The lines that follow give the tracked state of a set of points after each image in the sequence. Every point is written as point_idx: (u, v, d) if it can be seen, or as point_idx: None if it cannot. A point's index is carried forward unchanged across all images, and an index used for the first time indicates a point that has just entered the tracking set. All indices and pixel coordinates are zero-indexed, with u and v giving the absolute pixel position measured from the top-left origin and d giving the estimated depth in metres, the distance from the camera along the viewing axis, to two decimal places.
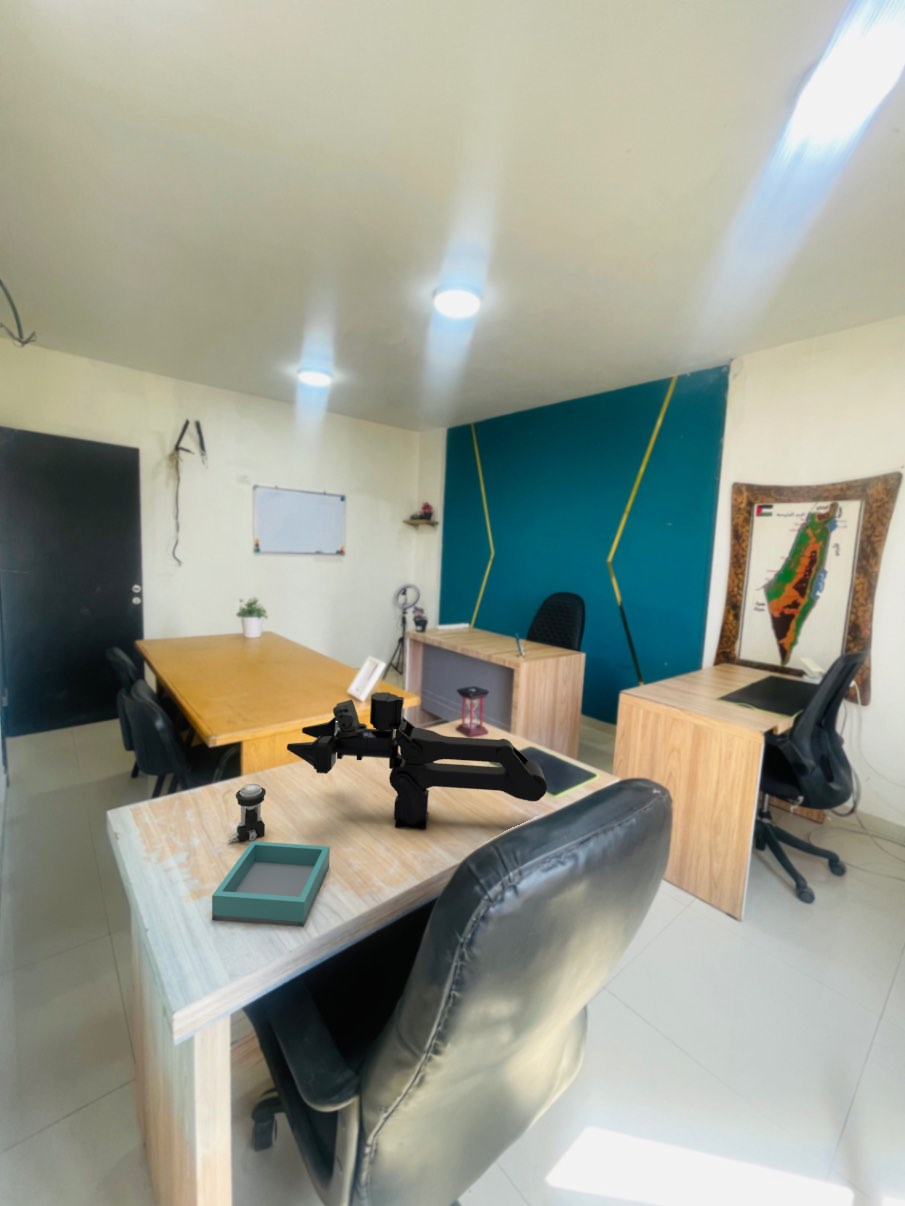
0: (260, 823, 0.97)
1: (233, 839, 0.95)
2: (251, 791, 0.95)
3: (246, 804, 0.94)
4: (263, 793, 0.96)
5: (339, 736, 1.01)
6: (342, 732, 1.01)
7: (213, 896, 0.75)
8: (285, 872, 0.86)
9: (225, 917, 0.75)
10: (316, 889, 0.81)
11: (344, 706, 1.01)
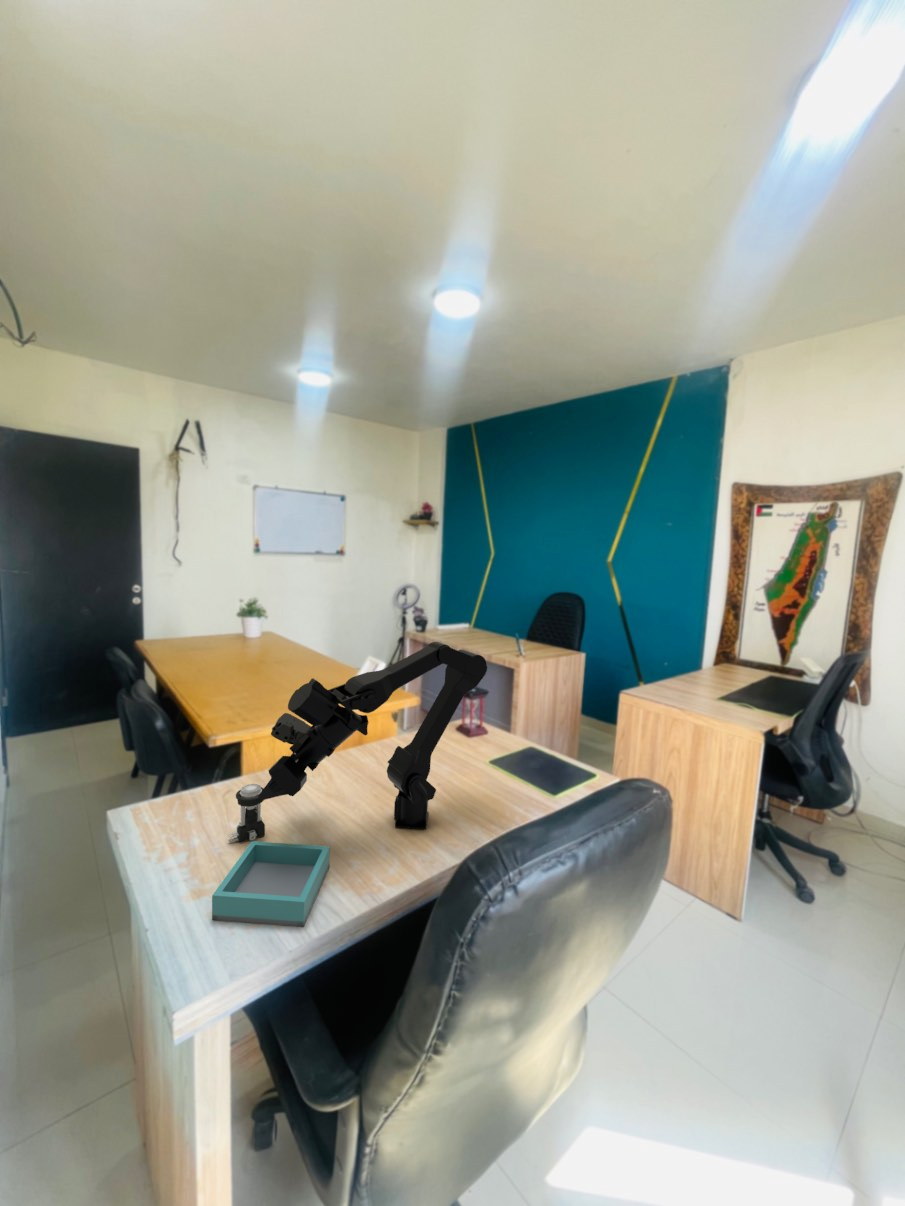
0: (260, 823, 0.97)
1: (233, 839, 0.95)
2: (251, 791, 0.95)
3: (246, 804, 0.94)
4: None
5: (295, 750, 0.91)
6: (294, 745, 0.91)
7: (213, 896, 0.75)
8: (285, 872, 0.86)
9: (225, 917, 0.75)
10: (316, 889, 0.81)
11: (276, 722, 0.92)
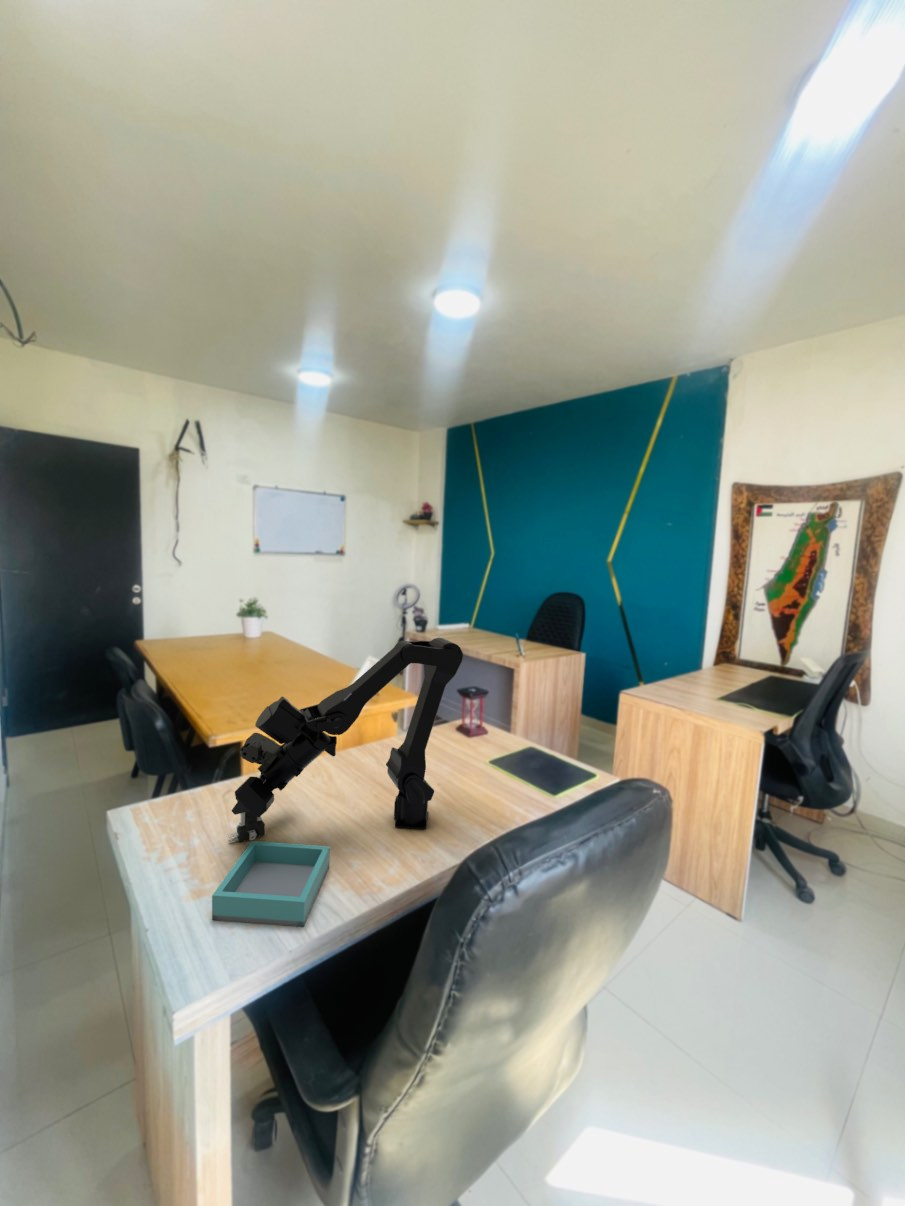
0: (260, 823, 0.97)
1: (233, 839, 0.95)
2: None
3: None
4: None
5: (263, 770, 0.92)
6: (262, 765, 0.92)
7: (213, 896, 0.75)
8: (285, 872, 0.86)
9: (225, 917, 0.75)
10: (316, 889, 0.81)
11: (245, 743, 0.92)
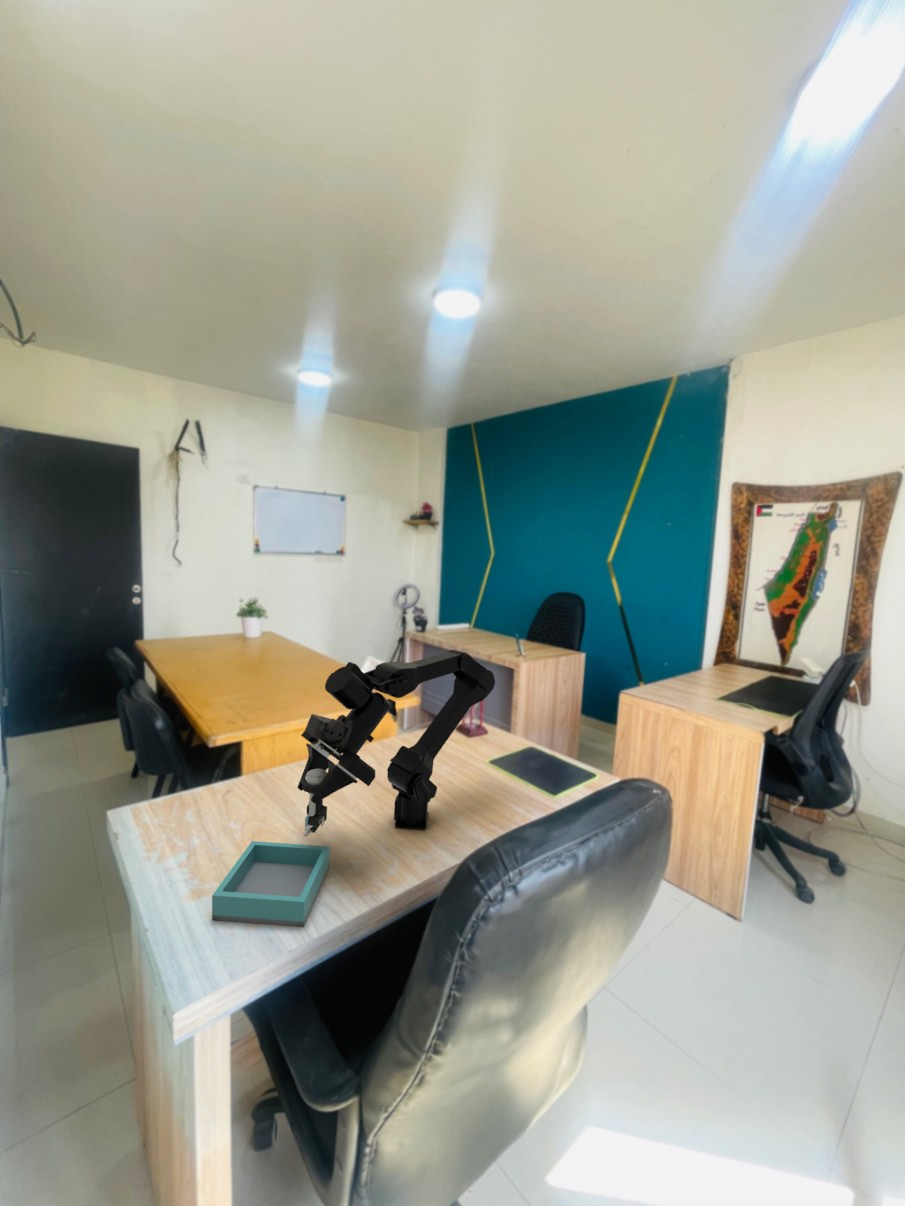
0: (323, 807, 0.91)
1: (308, 832, 0.87)
2: (322, 775, 0.88)
3: None
4: None
5: (342, 746, 0.88)
6: (341, 741, 0.88)
7: (213, 896, 0.75)
8: (285, 872, 0.86)
9: (225, 917, 0.75)
10: (316, 889, 0.81)
11: (320, 724, 0.86)
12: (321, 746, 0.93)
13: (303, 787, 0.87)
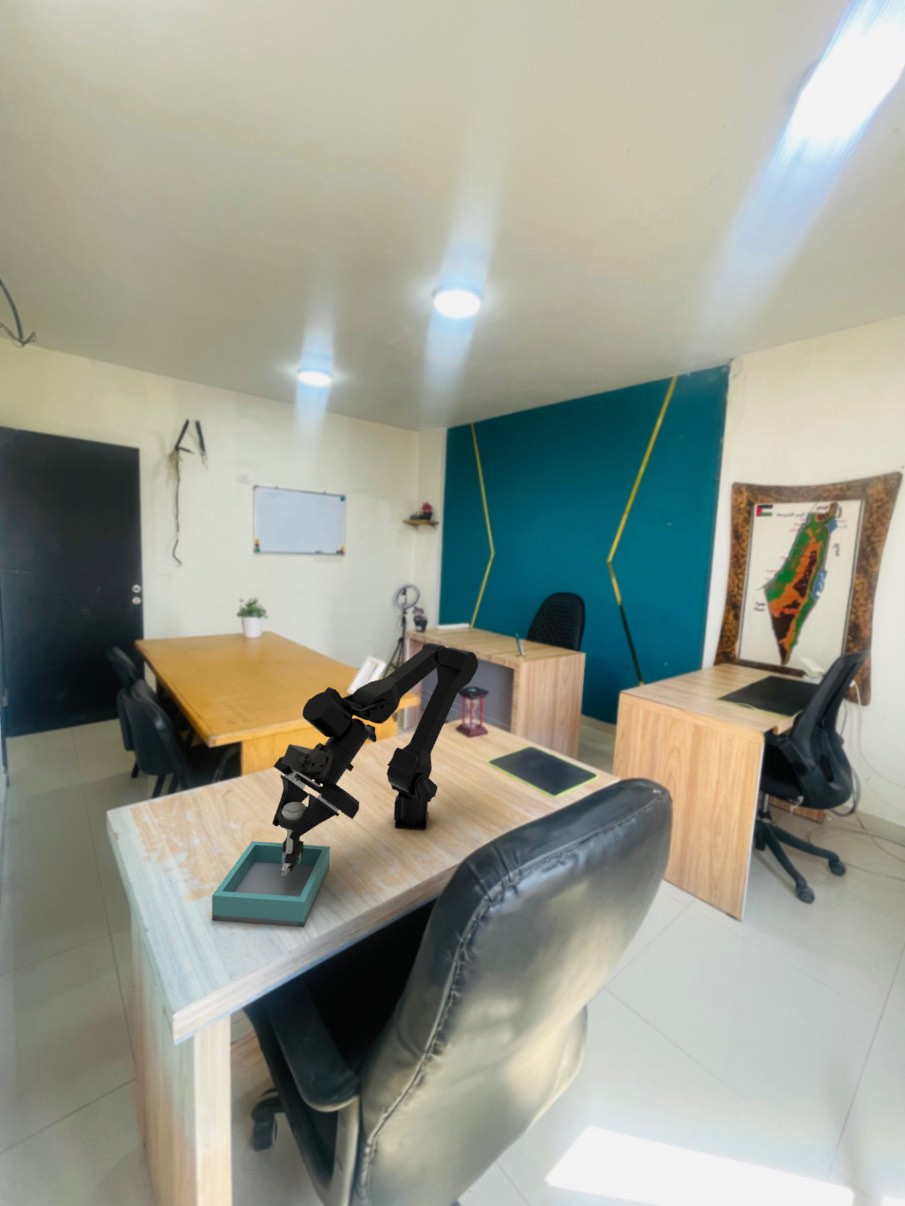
0: None
1: (285, 871, 0.81)
2: (301, 809, 0.83)
3: None
4: None
5: (323, 777, 0.83)
6: (322, 772, 0.83)
7: (213, 896, 0.75)
8: None
9: (225, 917, 0.75)
10: (316, 889, 0.81)
11: (300, 755, 0.81)
12: (297, 777, 0.87)
13: (280, 823, 0.82)
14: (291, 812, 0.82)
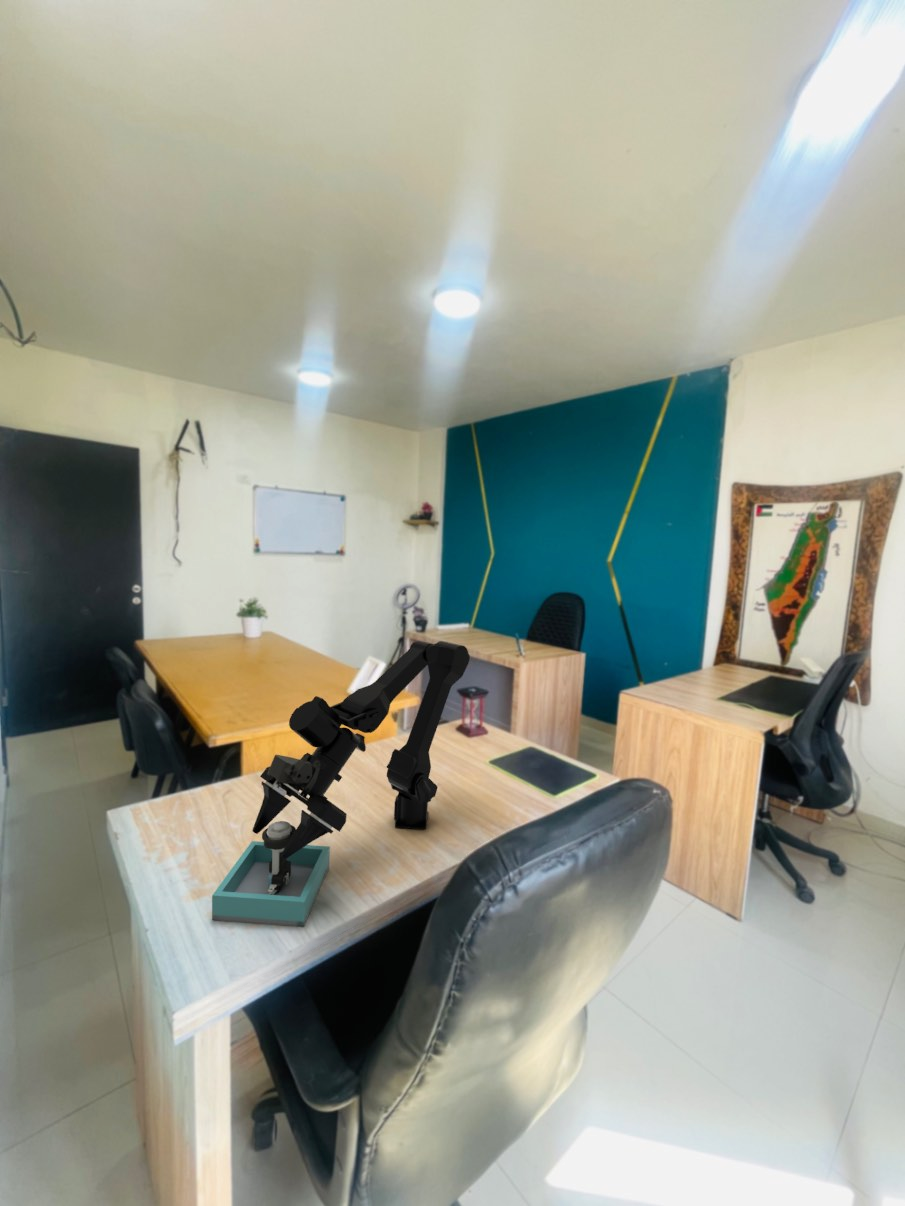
0: None
1: (272, 893, 0.80)
2: (286, 828, 0.82)
3: None
4: (292, 826, 0.84)
5: (310, 789, 0.82)
6: (308, 783, 0.81)
7: (213, 896, 0.75)
8: None
9: (225, 917, 0.75)
10: (316, 889, 0.81)
11: (286, 766, 0.79)
12: (278, 784, 0.87)
13: (265, 843, 0.80)
14: (275, 832, 0.80)
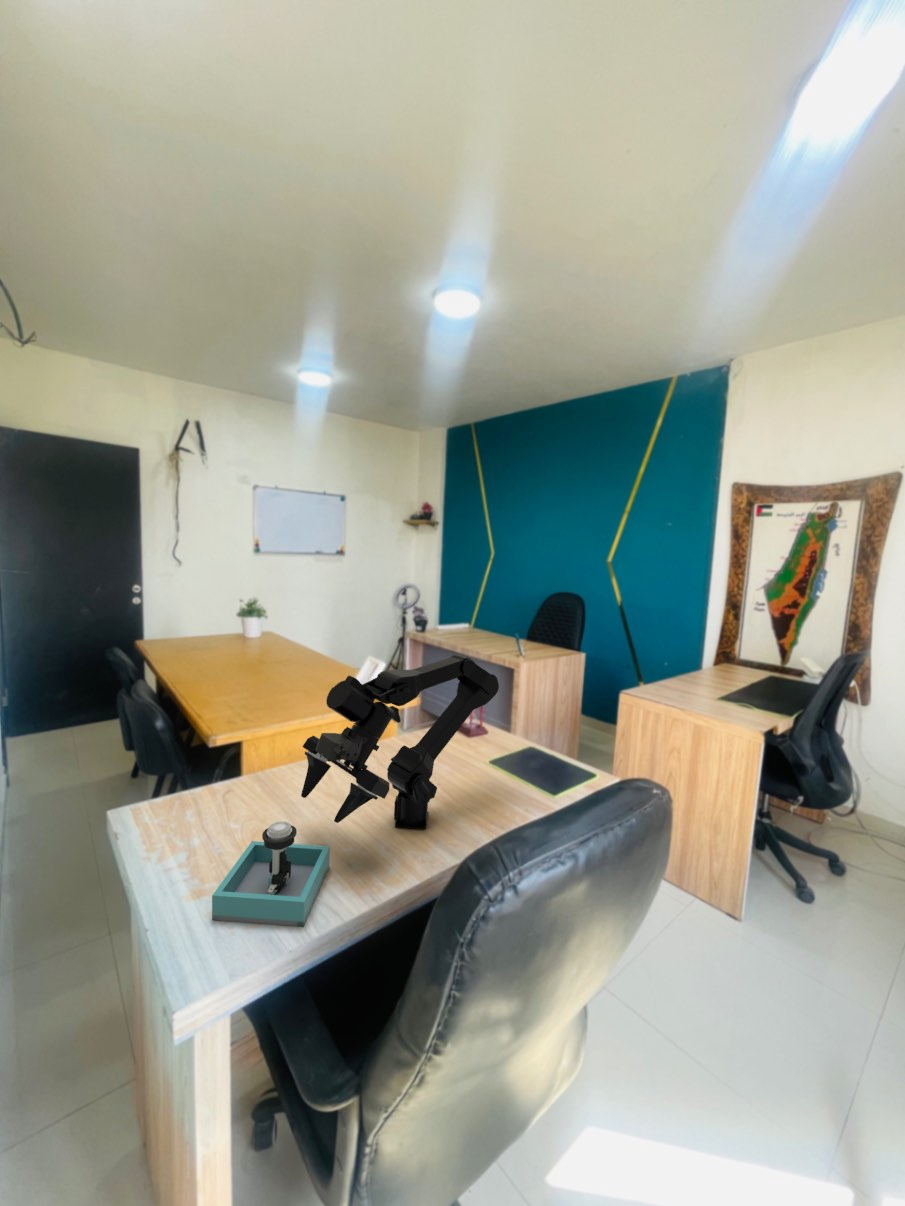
0: None
1: (272, 893, 0.80)
2: (286, 828, 0.82)
3: (288, 844, 0.81)
4: (292, 826, 0.84)
5: (354, 762, 0.90)
6: None
7: (213, 896, 0.75)
8: None
9: (225, 917, 0.75)
10: (316, 889, 0.81)
11: (335, 746, 0.86)
12: (320, 754, 0.94)
13: (265, 843, 0.80)
14: (276, 832, 0.80)
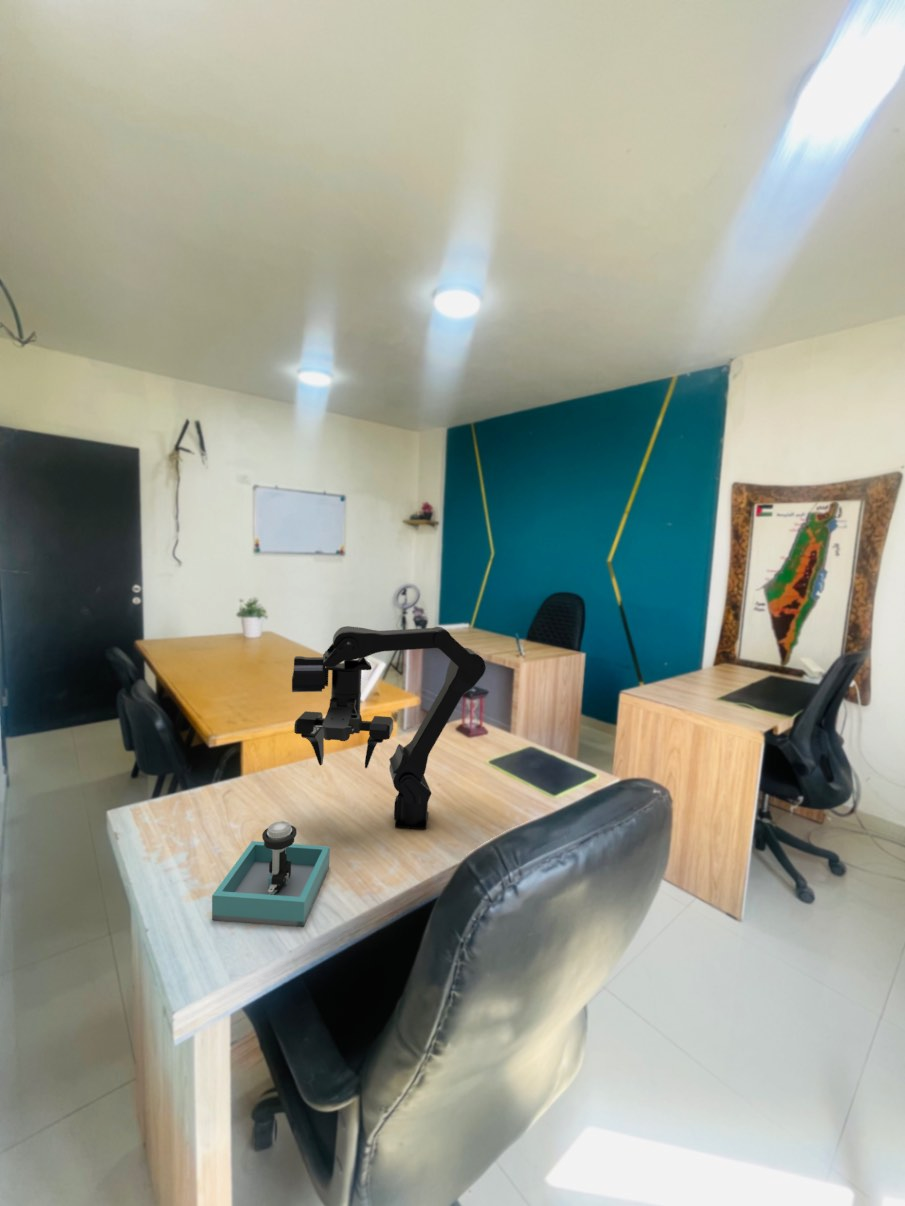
0: None
1: (272, 893, 0.80)
2: (286, 828, 0.82)
3: (288, 844, 0.81)
4: (292, 826, 0.84)
5: None
6: None
7: (213, 896, 0.75)
8: None
9: (225, 917, 0.75)
10: (316, 889, 0.81)
11: (345, 730, 0.91)
12: (315, 728, 0.99)
13: (265, 843, 0.80)
14: (276, 832, 0.80)
